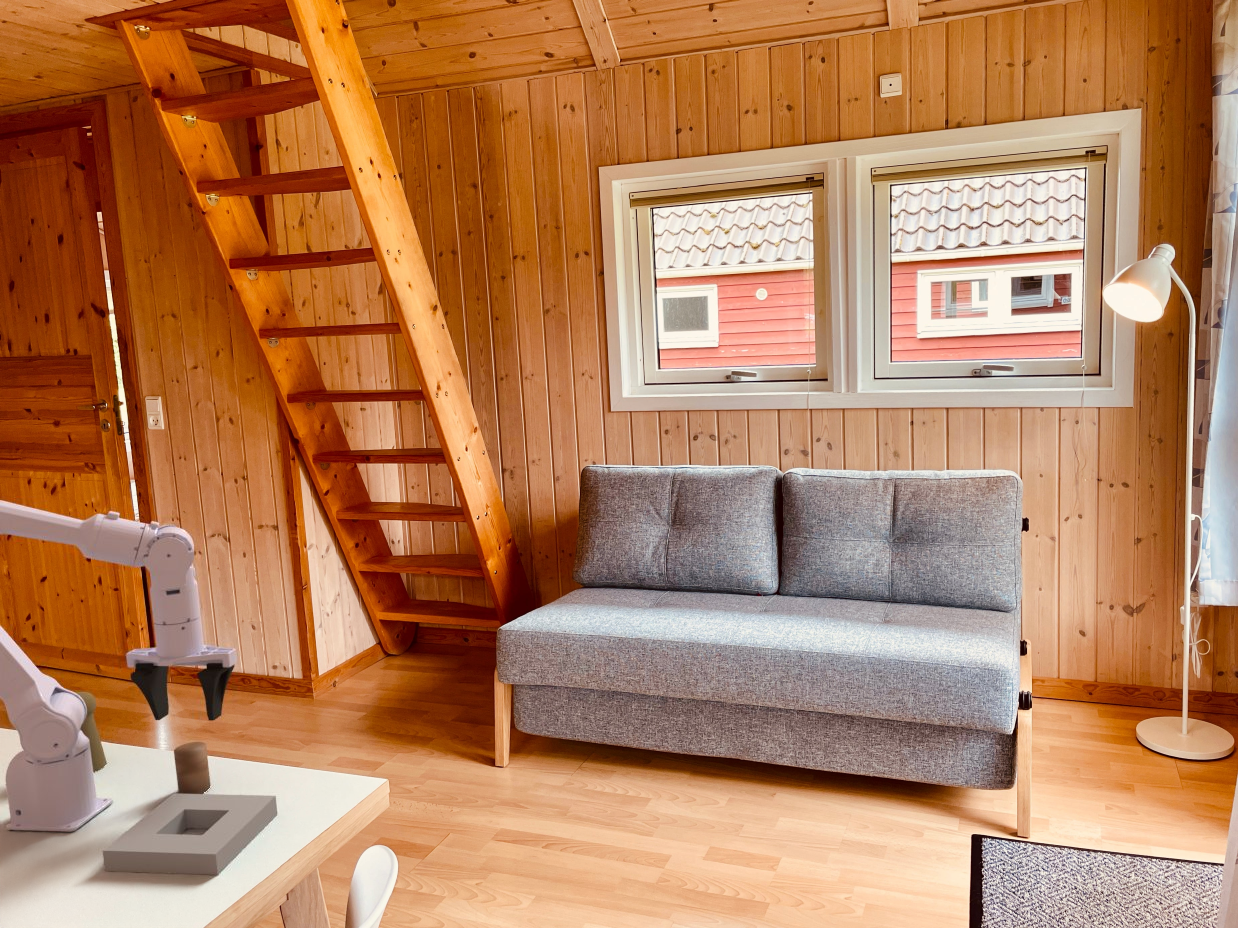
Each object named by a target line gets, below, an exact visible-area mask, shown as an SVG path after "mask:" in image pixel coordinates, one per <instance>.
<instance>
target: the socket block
mask: <svg viewBox="0 0 1238 928" xmlns="http://www.w3.org/2000/svg"><path fill="white" fill-rule="evenodd" d="M277 815H278V806H277V797H276V795H259V794H258V795H257V794H218V793H217V794H214V793H213V794H212V793H211V794H210V793H208V794H207V793H204V794H179V793H172V794H171V795H170V796H169V797H167V798H166V799H165V800H163V801H162V802H161V803H160V804H159V805H157V806H156V807H155V808H154V809H152V810H151V811H150V812H148V813H147V814H146V815H145V816H143V818H141V819H140V820H139V821H137V822H136V823H135V824H134V825H132V826H131V827H130V828H129V829H128V830H126V831H125V832H124V833H123V834H121V835H120V836H119V837H117V838H116V839H115V840H114V841H112V842H111V843H110V844H109V845H107V847H105V848H104V849H102V857H103V859H102V860H103V865H104V871H105V872H125V873H132V872H133V873H150V874H151V873H153V874H154V873H155V874H156V873H157V874H158V873H159V874H184V875H186V874H187V875H188V874H189V875H206V876H207V875H210V876H213V875H215V876H219V875H220V873H221V872H222V871H224V869H226V867H227V866H228V865H229V864H230V863H232V861H233V860H234V859H236V857H237V856H239V855H240V853H241V852H242V851H243V850H244V849H245V848H246V847H247V846H248V845H249V844H250V843H251V842H252V841H253V840H254V839H255V838H256V837H257V836H258V835H259V834H260V833H261V832H262V831H263V830H264V829H265V828H266V827H267V826H268V824H270V823H271V822H272V820H273V819H275V818H276V817H277ZM186 829H202V830H203V829H207V830H206V831H205V832H204V833H203V834H183V832H184V831H185V830H186Z"/></svg>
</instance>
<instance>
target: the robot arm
mask: <svg viewBox="0 0 1238 928" xmlns="http://www.w3.org/2000/svg"><path fill="white" fill-rule="evenodd" d="M0 535H10V536H17V537H22V538H28V539H33V540H34V539H35V540H41V541H48V542H53V543H60V544H66V545H73V546H76V548H77V549H78V550H79V551H80V552H81V554H82V555H83V557H85V558H86V559H93V560H97V561H101V562H102V561H103V562H107V563H112V564H118V565H122V566H129V567H134V568H140V567H145V568H146V569H147V571H148V572H149V576H150V588H149V595H150V603H151V604H150V605H151V611H152V621H153V629H154V639H155V645H156V646H155V647H148V648H147V647H146V648H134V649H133V650H132V649H131V650H130V651H129V652H127V653H125V657H126V663H127V664H126V666H127V668H135V669H134V671H133V672H131V673H130V680H131V681H132V682H133V683H134V685H136V686H137V688H138V689H139V690H140V692H141V693H142V694H143V696H144V698H145V700H146V702H147V704H148V706H149V707H150V710H151V713H152V715H153V717H154V720H155V721H161V720H163V719H164V718H165V717H166V716H168V715H169V711H170V710H169V708H170V705H169V697H168V674H169V667H170V666H171V667H175V666H176V667H177V666H179V667H181V666H184V667H185V666H186V667H188V666H200V667H203V666H206V668H203V669H202V670H200V671H198V672H197V674H196V676H197V679H198V681H199V683H200V685H201V689H202V691H203V696H204V700H205V701H204V702H205V708H206V709H205V710H206V717H207V721H210V722H211V721H216V719H218V718H220V717H221V716H222V711H223V702H224V699H225V693H226V689H227V687H228V686H227V685H228V683H229V680H230V677H231V675H232V673H233V671H234V669H235V666H236V664H237V663H238V655H237V648H232V647H231V648H227V647H220V646H215V645H208V644H207V645H206V644H205V643H204V642H205V640H204V635H203V634H204V633H203V624H202V614H201V606H200V603H201V602H200V597H199V587H198V586H199V585H198V582H197V580H196V576H197V575H196V574H197V573H196V569H195V567H194V561H195V544H194V540H193V538H192V536H191V535H190V534H189V532H187V531H186V530H185V529H183V528H181V527H178V526H176V525H175V524H164V525H160V523H159V522H157V521H153V520H152V521H151V522H150V523H145V522H139V521H135V520H131V519H125V518H120V512H117V511H112V510H109V511H108V512H107V514H102V513H96V514H95V515H94V514H93V516H91V517H89V518H87V519H79V518H75V517H71V516H67V515H63V514H58V513H54V512H51V511H46V510H43V509H42V510H41V509H38V508H33V507H29V506H26V505H22V504H18V503H14V502H10V501H5V500H2V499H0ZM0 700H1V701H2V702H3V704H4V706H5V709H6V714H7V717H8V720H9V722H10V724H11V725H12V726H13V727H14V729H15V730H16V731H17V733H18V736H19V741H20V746H21V749H22V750H21V751H19V752H18V753H17V754H15V756H13V757H12V758H11V760H10V762H9V763H8V765H7V769H6V771H5V772H6V773H5V786H6V788H5V789H6V793H7V794H6V795H7V801H8V810H9V817H10V823H9V824H7V825H6V830H8V831H11V830H13V831H38V832H39V831H40V832H42V831H43V832H74V831H76V830H78V829H79V828H80V827H82V826H83V825H85V823H87V822H88V821H90V820H91V819H93V818H94V817H95V816H96V815H98V814H99V813H101V812H102V811H103V810H105V809H106V808H108V806H110V805H111V804H113V802H114V799H113V798H109V797H108V798H104V797H97V791H96V782H95V775H94V773H93V766H92V758H91V750H90V741H89V739H88V738H87V737H86V736H85V735H84V734H83V732H82V731H81V730H80V728H81V725H82V724H83V723H84V720H85V718H86V714H87V708H86V704H85V702H84V700H83V699H82V698H81V697H80V696H79V695H78V694H76V692H74V691H72V690H70V689H67V688H64V687H63V686H61V684H60V683H59V682H58V681H57V679H56V678H54V677H51V676H50V675H47V674H44V673H43V672H42V671H41V670H40V669H39V668H38V667H37V666H36V665H35V664H34V663H33V662H32V660H31V658H29V657H28V656H27V655H26V653H25V652H24V651H23V649H21V647H20V646H19V645H18V644H17V643H16V642H15V641H14V639H12V637H11V636H10V635H9V633H8V632H7V631H6V630H5V628H3V627H2V626H1V625H0Z"/></svg>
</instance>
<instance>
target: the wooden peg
mask: <svg viewBox="0 0 1238 928" xmlns="http://www.w3.org/2000/svg"><path fill="white" fill-rule="evenodd" d="M173 756H174V763H175V764H174V766H175V773H176V780H177V781H176V782H177V790H178V791H177V792H178V794H202V793H204V792H206V791H207V790H208V789H209V788H210V786H211V777H210V768H209V759H208V749H207V743H205V742H203V741H191V742H188V743H184V744H181V745H179V746H177V747H176V748H175V749H173ZM211 787H212V786H211ZM210 789H211V788H210ZM207 792H208V791H207ZM207 792H206V793H207ZM204 794H205V793H204Z"/></svg>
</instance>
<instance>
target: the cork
mask: <svg viewBox="0 0 1238 928" xmlns="http://www.w3.org/2000/svg"><path fill="white" fill-rule="evenodd" d="M75 693H76V694H78V695H79V696H80V697H81V698H82V699H83V700H84V702H85V704H86V708H87V714H86V718H85V720H84V723H83V724H82V725H81V728H80V730H81V731H82V732H83V734H84V735H85V736H86V737H87V738H88V739H89V741H90V750H91V758H92V766H93V772H94V773H96V772H95V771H97V770H99V771H100V770H102V769H104V768H105V767H106V766H107V763H108V762H107V760H106V759H107V758H106V755H105V752H104V748H103V745H102V741H101V738H100V734H99V730H98V727H97V724H96V721H95V717H94V713H95V711H96V710H97V709H96V708H97V700H96V698H95V695H93V694H92V693H90V692H88V691H77V692H75ZM105 765H106V766H105ZM104 766H105V767H104ZM101 768H102V769H101ZM97 772H98V771H97Z"/></svg>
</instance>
